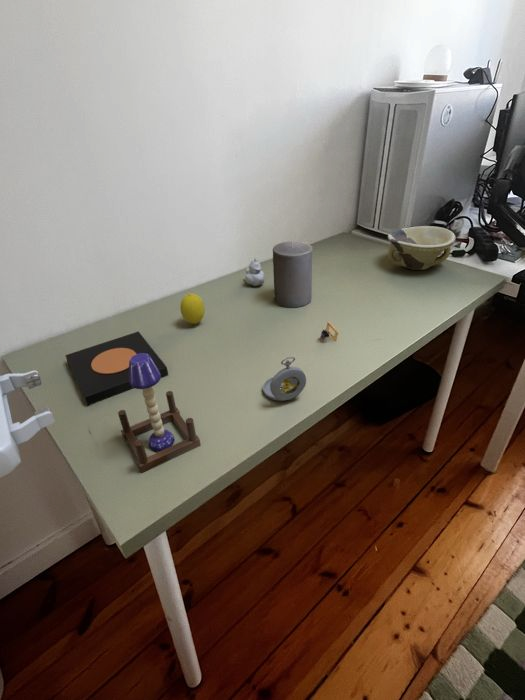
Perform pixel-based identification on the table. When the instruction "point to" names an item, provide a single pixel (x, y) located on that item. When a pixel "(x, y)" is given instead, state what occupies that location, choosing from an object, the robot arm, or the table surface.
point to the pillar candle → (292, 273)
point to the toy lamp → (149, 398)
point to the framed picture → (328, 332)
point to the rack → (142, 427)
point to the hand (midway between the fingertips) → (45, 394)
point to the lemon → (192, 308)
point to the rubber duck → (254, 274)
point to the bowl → (420, 246)
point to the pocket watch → (285, 383)
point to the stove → (109, 366)
